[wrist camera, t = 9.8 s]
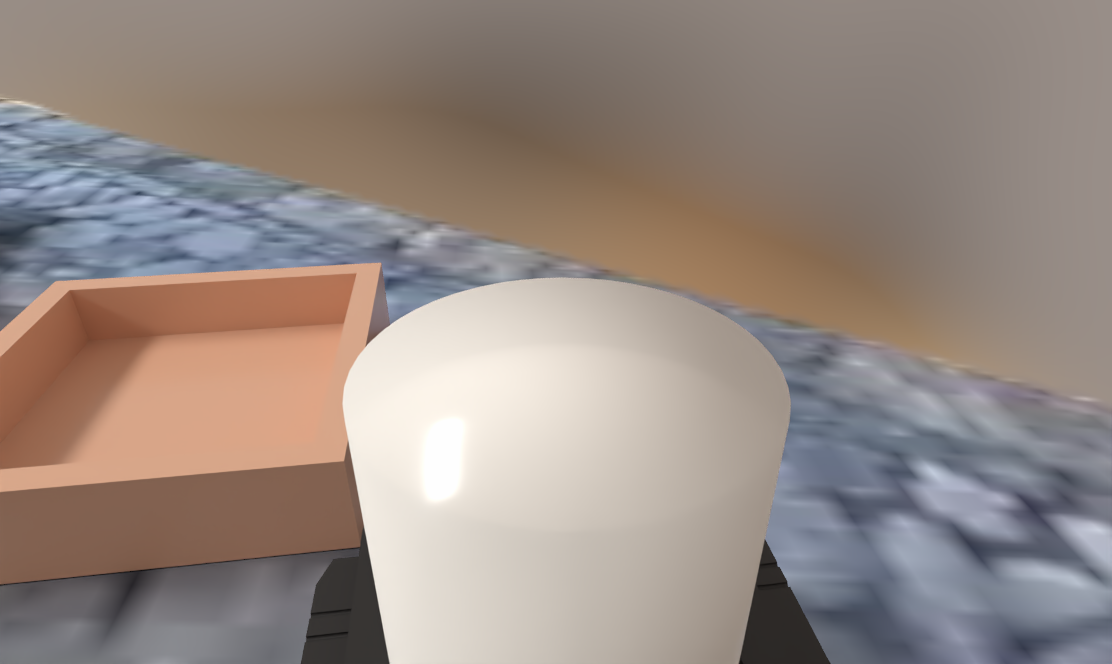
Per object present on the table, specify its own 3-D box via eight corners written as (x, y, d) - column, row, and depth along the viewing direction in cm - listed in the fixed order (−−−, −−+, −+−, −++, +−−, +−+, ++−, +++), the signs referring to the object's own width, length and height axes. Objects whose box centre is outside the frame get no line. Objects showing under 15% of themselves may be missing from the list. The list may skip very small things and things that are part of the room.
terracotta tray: (-131, 598, 20) (-196, 509, 19) (82, 349, 32) (55, 281, 31) (361, 546, 22) (344, 460, 20) (390, 328, 34) (381, 262, 32)
